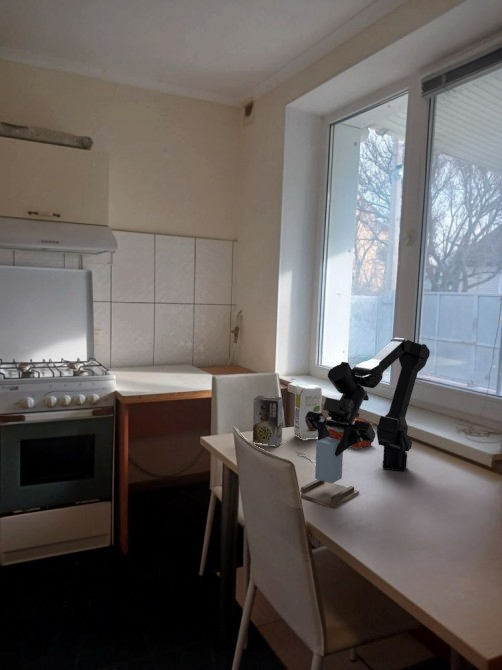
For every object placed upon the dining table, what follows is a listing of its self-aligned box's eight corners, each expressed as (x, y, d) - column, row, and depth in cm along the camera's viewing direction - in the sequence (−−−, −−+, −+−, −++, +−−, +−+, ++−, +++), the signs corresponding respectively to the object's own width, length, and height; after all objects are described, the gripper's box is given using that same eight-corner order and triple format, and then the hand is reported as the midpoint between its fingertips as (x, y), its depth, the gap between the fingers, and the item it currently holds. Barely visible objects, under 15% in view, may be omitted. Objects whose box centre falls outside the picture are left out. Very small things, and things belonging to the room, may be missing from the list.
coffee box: (282, 442, 176) (283, 397, 175) (277, 447, 170) (278, 400, 169) (257, 439, 179) (259, 394, 178) (251, 444, 173) (253, 398, 172)
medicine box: (324, 438, 183) (325, 417, 182) (339, 435, 188) (340, 414, 187) (357, 449, 171) (359, 426, 171) (372, 445, 177) (373, 423, 176)
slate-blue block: (315, 478, 131) (316, 440, 130) (325, 473, 135) (326, 436, 134) (331, 483, 128) (333, 445, 127) (341, 478, 132) (343, 440, 131)
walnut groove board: (295, 495, 131) (295, 487, 131) (321, 482, 140) (321, 475, 140) (334, 508, 123) (335, 500, 123) (358, 493, 133) (359, 486, 133)
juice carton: (291, 435, 185) (293, 384, 183) (311, 433, 188) (313, 383, 187) (301, 441, 178) (303, 388, 176) (322, 439, 181) (324, 387, 180)
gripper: (309, 381, 138) (284, 428, 131) (372, 391, 126) (348, 443, 119) (324, 405, 145) (301, 451, 138) (384, 416, 133) (363, 467, 126)
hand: (326, 453), depth 130 cm, fingers closed on slate-blue block, 5 cm apart
